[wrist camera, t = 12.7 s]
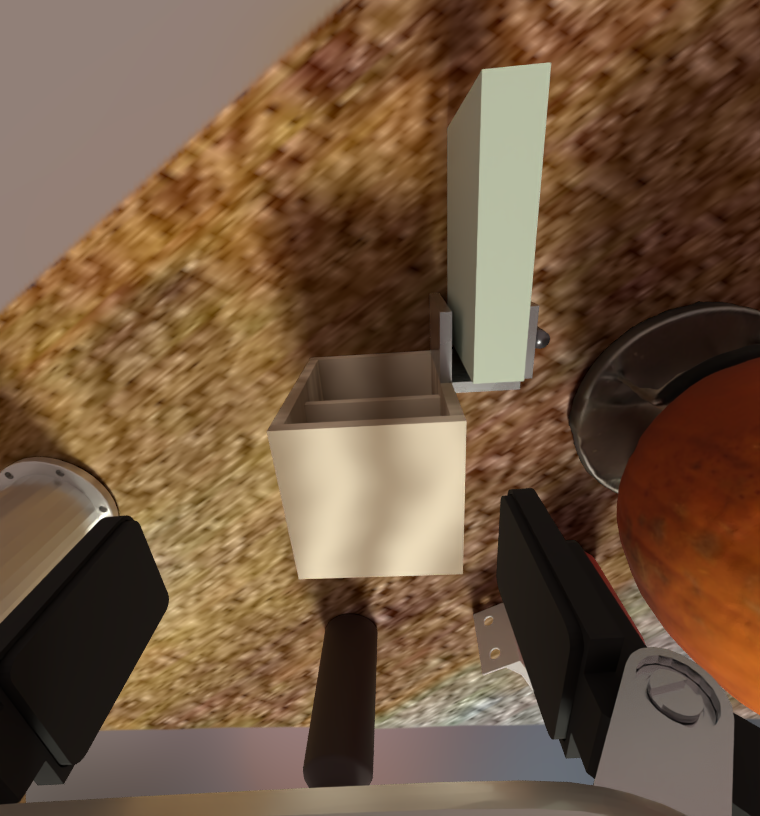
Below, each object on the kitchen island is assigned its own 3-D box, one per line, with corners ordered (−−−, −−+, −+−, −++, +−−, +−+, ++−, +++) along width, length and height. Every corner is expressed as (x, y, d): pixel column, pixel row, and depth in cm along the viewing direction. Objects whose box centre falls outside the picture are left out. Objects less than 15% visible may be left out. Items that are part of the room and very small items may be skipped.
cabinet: (327, 468, 41) (298, 579, 28) (310, 357, 36) (266, 431, 23) (440, 463, 40) (462, 574, 28) (439, 349, 35) (466, 420, 23)
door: (447, 128, 28) (482, 69, 18) (506, 122, 28) (579, 59, 17) (447, 333, 35) (473, 383, 24) (495, 330, 34) (544, 379, 24)
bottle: (321, 613, 50) (282, 834, 32) (374, 610, 50) (365, 832, 32) (330, 648, 53) (299, 868, 35) (380, 645, 53) (375, 867, 34)
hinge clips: (430, 359, 36) (440, 393, 28) (429, 293, 33) (439, 312, 26) (515, 353, 35) (548, 387, 28) (521, 286, 33) (558, 304, 26)
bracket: (472, 607, 51) (484, 683, 41) (503, 595, 50) (522, 669, 40) (513, 665, 53) (533, 750, 44) (543, 655, 52) (570, 739, 43)
